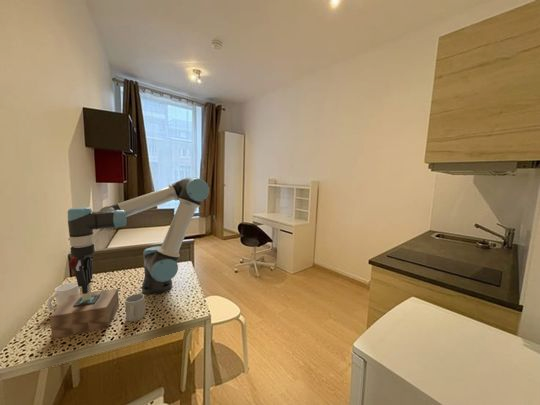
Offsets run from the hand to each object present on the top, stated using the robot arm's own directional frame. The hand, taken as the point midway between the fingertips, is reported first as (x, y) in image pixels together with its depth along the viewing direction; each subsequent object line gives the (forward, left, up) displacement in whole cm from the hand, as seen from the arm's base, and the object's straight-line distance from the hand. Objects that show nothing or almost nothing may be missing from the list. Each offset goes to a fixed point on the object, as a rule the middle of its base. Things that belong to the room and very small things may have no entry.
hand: (87, 299), depth 95 cm
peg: (0, 0, -9) cm, 9 cm away
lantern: (+14, -34, -10) cm, 38 cm away
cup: (-18, +5, -10) cm, 21 cm away
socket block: (0, 0, -10) cm, 10 cm away
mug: (+14, -14, -10) cm, 22 cm away
